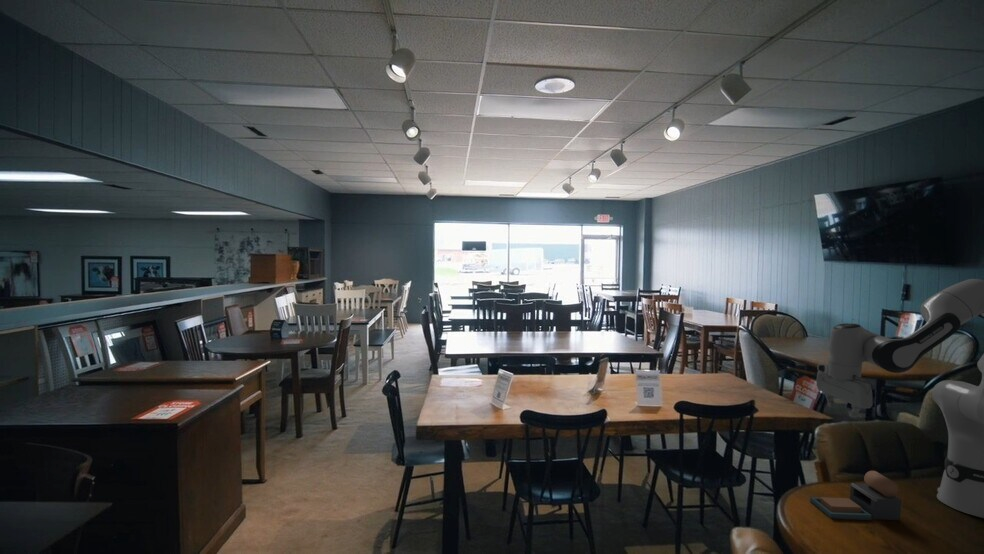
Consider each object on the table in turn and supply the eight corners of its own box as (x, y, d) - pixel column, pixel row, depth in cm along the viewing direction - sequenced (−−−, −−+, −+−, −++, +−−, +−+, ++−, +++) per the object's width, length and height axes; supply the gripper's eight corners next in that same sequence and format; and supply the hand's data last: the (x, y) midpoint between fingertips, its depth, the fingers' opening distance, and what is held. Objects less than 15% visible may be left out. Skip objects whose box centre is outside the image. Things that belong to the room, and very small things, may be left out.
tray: (847, 503, 142) (848, 498, 142) (871, 520, 133) (871, 515, 133) (809, 501, 142) (810, 497, 142) (830, 518, 133) (831, 513, 133)
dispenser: (874, 503, 142) (877, 469, 142) (899, 520, 133) (902, 483, 133) (849, 502, 142) (852, 468, 142) (872, 519, 133) (875, 482, 133)
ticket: (848, 504, 140) (848, 498, 140) (861, 513, 135) (861, 507, 135) (819, 503, 141) (820, 497, 141) (831, 512, 136) (831, 506, 136)
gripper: (880, 380, 138) (877, 424, 139) (831, 364, 158) (829, 402, 159) (859, 380, 138) (857, 423, 139) (813, 363, 158) (811, 401, 159)
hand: (841, 412), depth 149 cm, fingers open, 8 cm apart
